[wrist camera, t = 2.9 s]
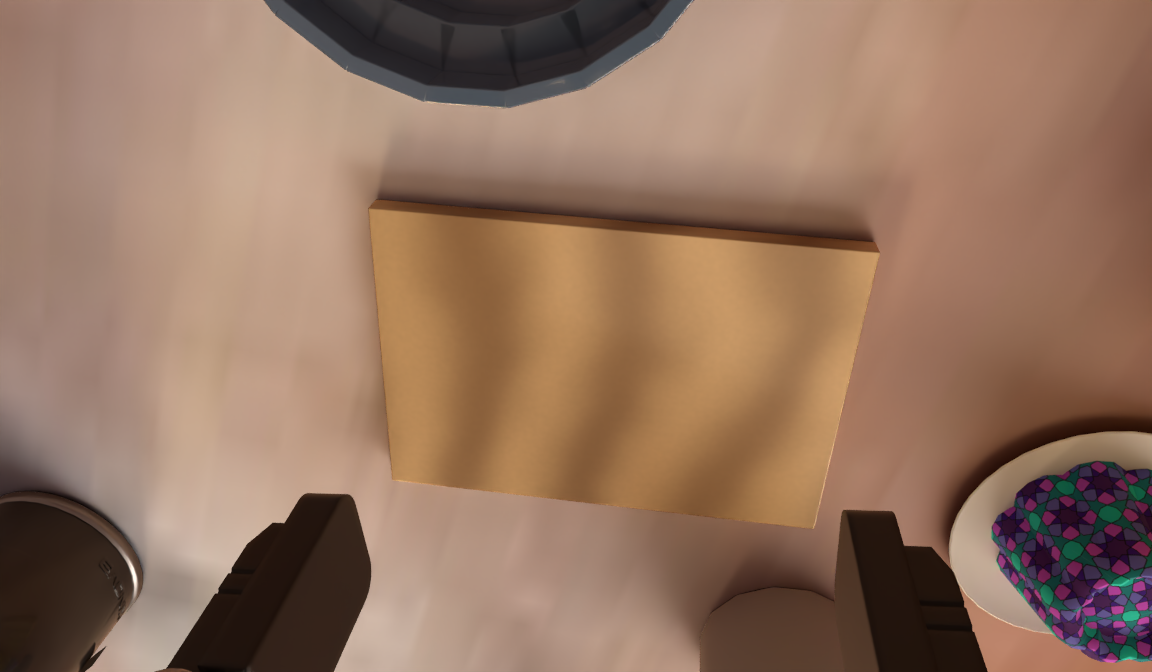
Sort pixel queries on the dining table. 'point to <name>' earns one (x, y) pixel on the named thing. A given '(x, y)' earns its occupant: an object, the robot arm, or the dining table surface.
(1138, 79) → the dining table surface
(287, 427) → the dining table surface
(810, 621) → the cup
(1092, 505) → the pudding
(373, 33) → the bowl
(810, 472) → the board
